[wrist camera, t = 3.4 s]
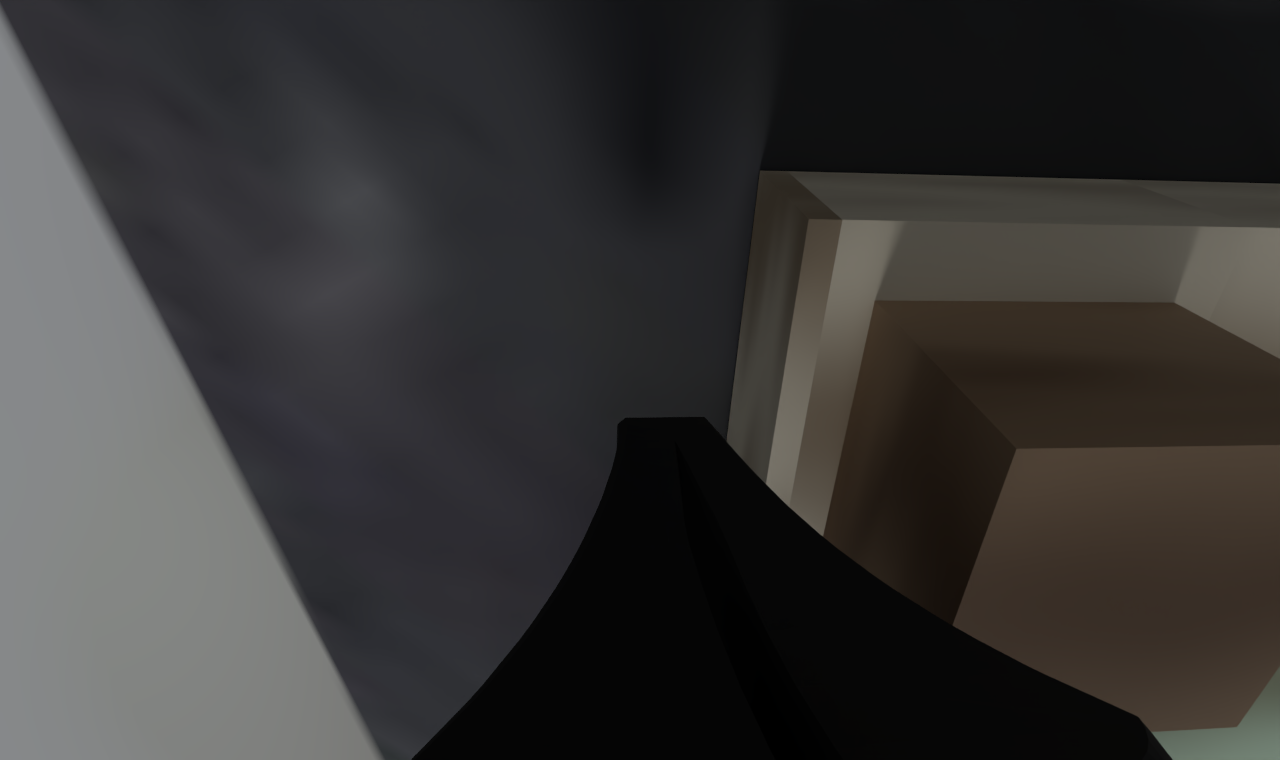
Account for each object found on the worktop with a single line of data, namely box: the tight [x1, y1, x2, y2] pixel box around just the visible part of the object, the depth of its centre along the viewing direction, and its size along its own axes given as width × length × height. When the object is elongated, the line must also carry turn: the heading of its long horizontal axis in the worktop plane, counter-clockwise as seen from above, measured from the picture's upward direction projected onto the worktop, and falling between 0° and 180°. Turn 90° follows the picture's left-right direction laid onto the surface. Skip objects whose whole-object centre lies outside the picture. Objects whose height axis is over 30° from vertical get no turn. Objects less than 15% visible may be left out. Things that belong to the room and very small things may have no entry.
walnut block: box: [823, 300, 1280, 732], centre depth 11 cm, size 5×5×4 cm
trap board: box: [726, 171, 1280, 760], centre depth 16 cm, size 15×22×3 cm, turn 87°
